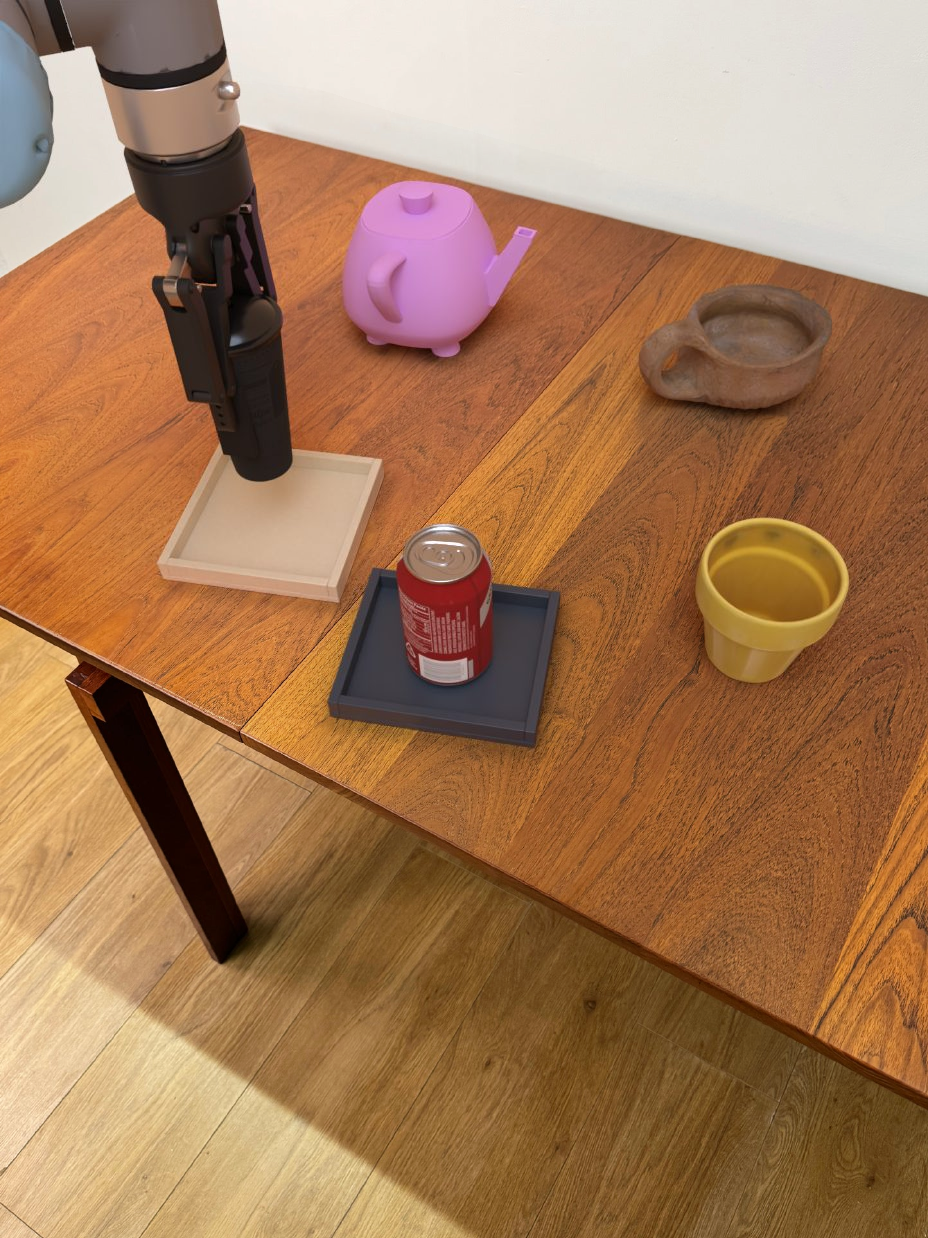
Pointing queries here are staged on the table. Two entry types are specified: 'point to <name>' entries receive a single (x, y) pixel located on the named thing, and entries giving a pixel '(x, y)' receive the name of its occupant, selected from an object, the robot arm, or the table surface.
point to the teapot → (425, 267)
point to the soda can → (446, 604)
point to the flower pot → (767, 595)
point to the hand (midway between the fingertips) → (254, 425)
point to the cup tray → (276, 526)
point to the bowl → (739, 348)
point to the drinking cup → (261, 383)
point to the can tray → (478, 709)
